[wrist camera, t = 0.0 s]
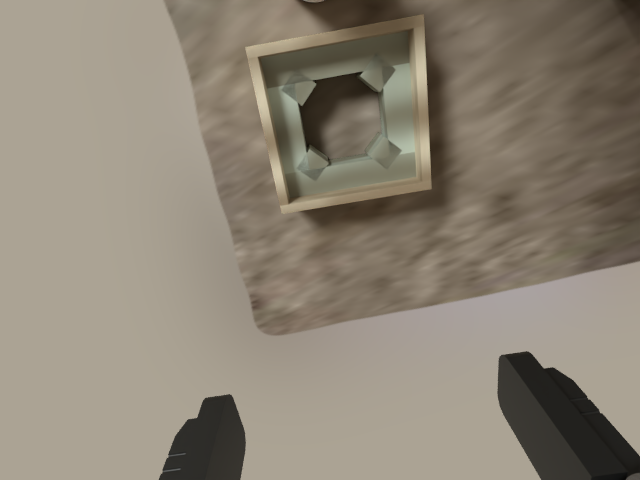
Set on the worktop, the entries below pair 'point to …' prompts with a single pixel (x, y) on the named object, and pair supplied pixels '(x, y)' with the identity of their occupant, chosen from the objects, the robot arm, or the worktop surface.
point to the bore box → (394, 102)
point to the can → (313, 0)
